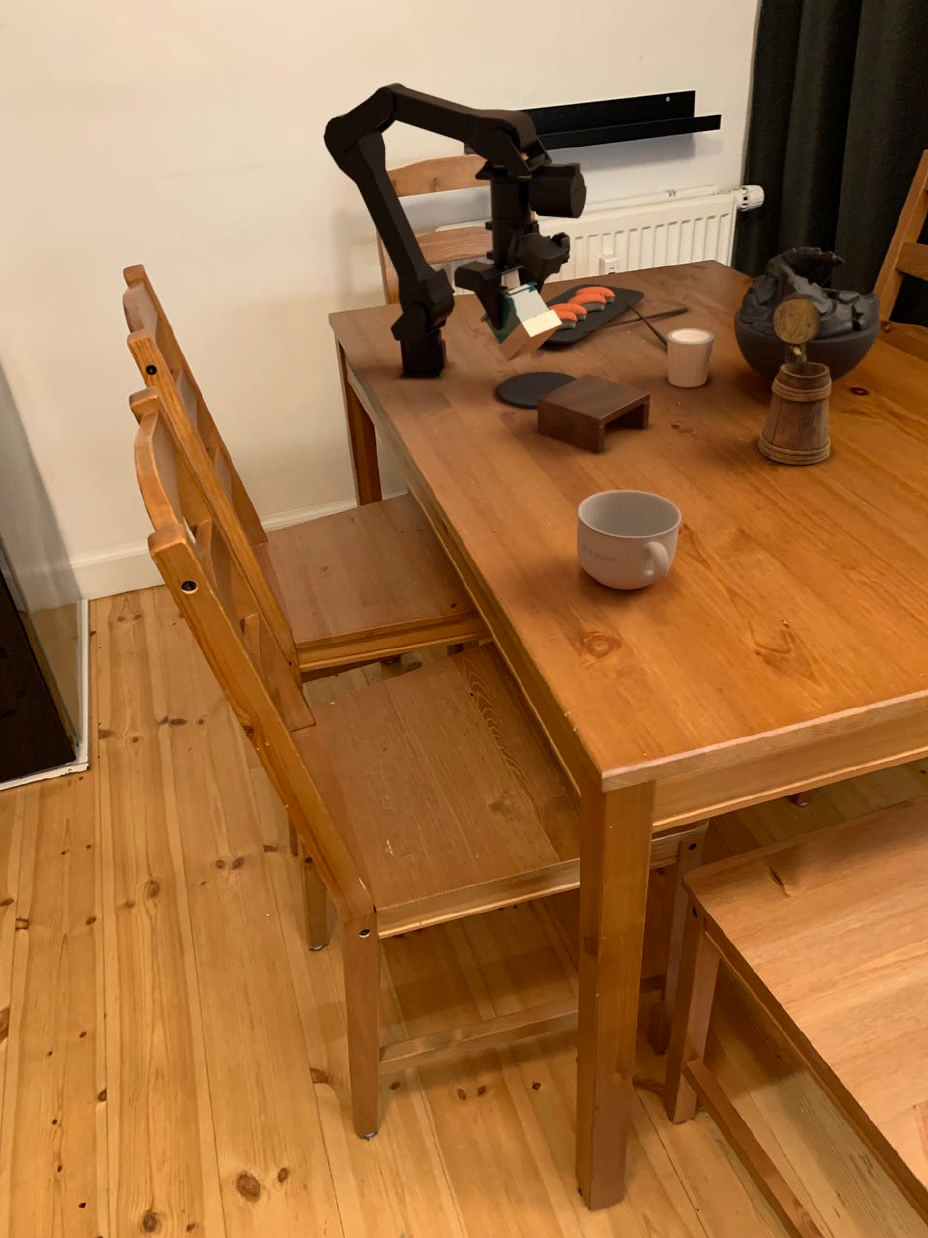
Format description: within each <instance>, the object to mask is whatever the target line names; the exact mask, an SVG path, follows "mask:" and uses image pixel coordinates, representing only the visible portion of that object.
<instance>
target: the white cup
mask: <svg viewBox="0 0 928 1238" xmlns="http://www.w3.org/2000/svg"><path fill="white" fill-rule="evenodd" d="M666 337H667V338H666V340H667V347H668V348H667V347H666V348H667V378H668V379H667V380H668V383H670V384H671V385H673V386H676V387H680V388H695V387H699V386H702V385H704V384H705V383H706V381H707V377H708V372H709V367H710V363H711V362H710V360H711V356H712V351H713V345H714V342H715V341H714V340H715V335H714V333H713V332H711V331H709V330H707V329H702V328H693V327H687V328H684V327H683V328H679V329H674V330H672V331H670V332H669V333H668V334H667V336H666Z"/></svg>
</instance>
